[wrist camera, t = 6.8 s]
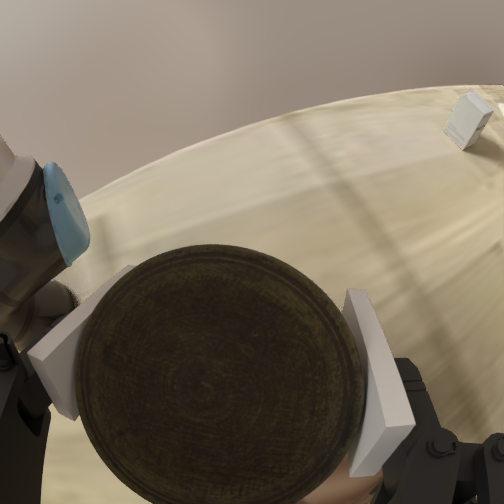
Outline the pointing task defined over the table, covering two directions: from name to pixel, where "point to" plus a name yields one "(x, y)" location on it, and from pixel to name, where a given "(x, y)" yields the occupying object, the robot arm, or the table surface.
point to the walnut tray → (343, 487)
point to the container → (219, 379)
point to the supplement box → (467, 119)
